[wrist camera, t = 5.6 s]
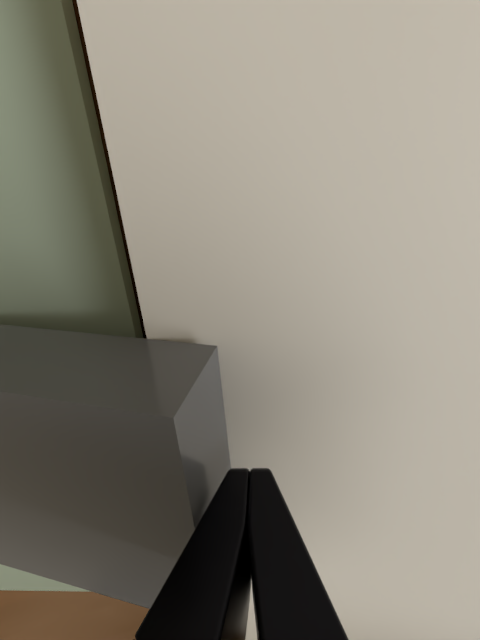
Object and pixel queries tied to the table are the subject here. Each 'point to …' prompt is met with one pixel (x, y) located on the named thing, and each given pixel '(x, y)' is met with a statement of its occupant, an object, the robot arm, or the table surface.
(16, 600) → the table surface
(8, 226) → the sage mat
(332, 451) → the cream block
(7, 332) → the slate tile
